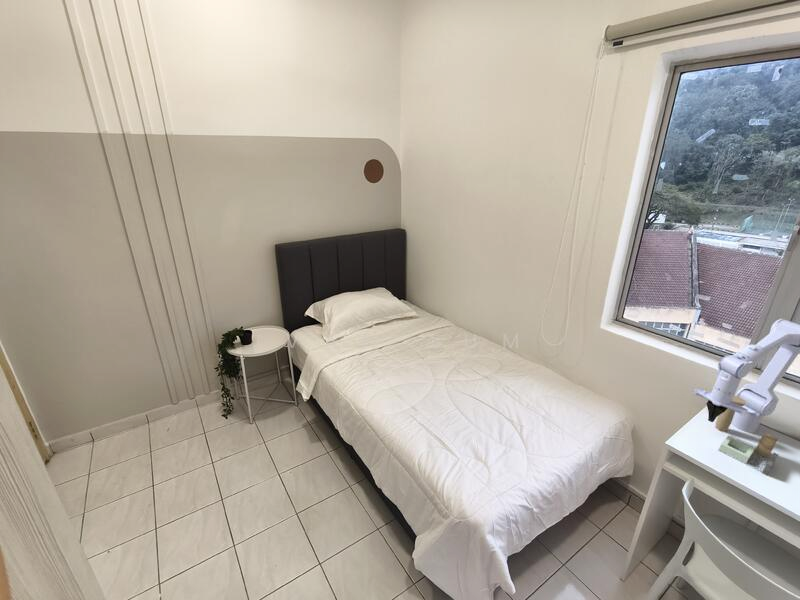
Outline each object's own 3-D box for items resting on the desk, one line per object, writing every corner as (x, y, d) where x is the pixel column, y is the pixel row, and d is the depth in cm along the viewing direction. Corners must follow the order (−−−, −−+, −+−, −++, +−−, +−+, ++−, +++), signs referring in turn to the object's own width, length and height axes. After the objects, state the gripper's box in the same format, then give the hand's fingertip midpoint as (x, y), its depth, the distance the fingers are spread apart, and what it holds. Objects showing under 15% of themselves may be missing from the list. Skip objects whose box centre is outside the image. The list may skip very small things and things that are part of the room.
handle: (729, 438, 135) (744, 405, 129) (707, 429, 139) (721, 396, 134) (731, 432, 138) (746, 399, 132) (710, 423, 143) (724, 391, 137)
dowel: (756, 447, 130) (764, 432, 127) (770, 454, 127) (778, 438, 124) (753, 452, 128) (761, 436, 125) (767, 458, 125) (775, 442, 122)
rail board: (729, 436, 136) (734, 425, 134) (776, 458, 126) (782, 447, 125) (716, 452, 129) (721, 441, 127) (765, 477, 119) (771, 466, 117)
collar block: (725, 440, 133) (728, 435, 132) (752, 453, 127) (755, 448, 126) (718, 449, 129) (721, 444, 128) (745, 463, 123) (748, 457, 122)
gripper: (695, 382, 130) (683, 413, 135) (748, 404, 119) (733, 436, 124) (702, 375, 134) (690, 406, 139) (754, 396, 123) (739, 428, 128)
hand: (711, 420), depth 132 cm, fingers closed
